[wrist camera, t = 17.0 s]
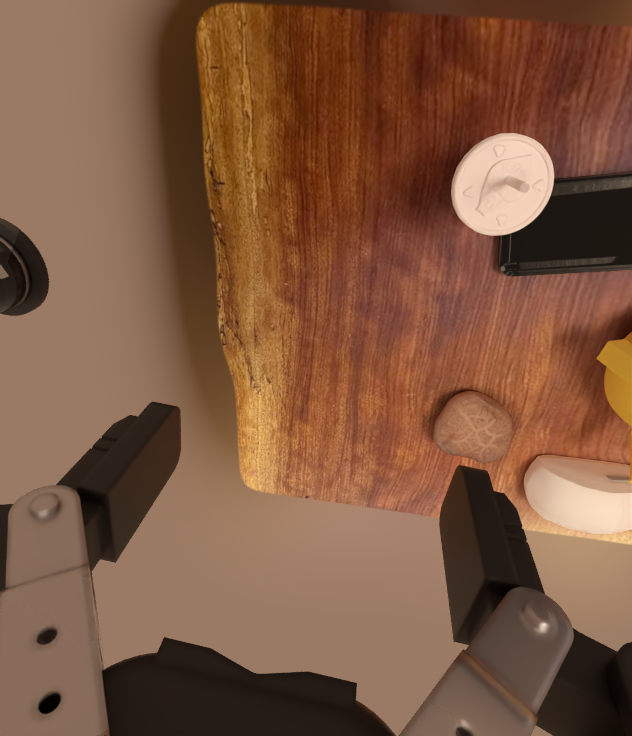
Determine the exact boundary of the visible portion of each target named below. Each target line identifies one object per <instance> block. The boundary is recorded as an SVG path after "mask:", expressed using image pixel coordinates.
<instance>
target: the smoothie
mask: <svg viewBox="0 0 632 736" xmlns="http://www.w3.org/2000/svg"><path fill="white" fill-rule="evenodd" d="M553 184H554V169H553V164H552V161H551V158H550V156H549V154H548V153H547V151H546V150H545V149H544V147H543V146H542V145H541V144H539V143H538V142H537V141H535V140H533V139H532V138H529V137H528V136H524V135H520V134H516V133H503V134H498V135H495V136H492V137H488V138H486V139H485V140H483V141H481V142H480V143H478V144H476V145H475V146H474V147H473V148H472V149H471V150H470V151H469V152H468V153H467V154H466V155H465V156H464V157H463V159H462V160H461V162H460V163H459V165H458V167H457V169H456V171H455V174H454V177H453V180H452V188H451V197H452V203H453V207H454V209H455V211H456V213H457V215H458V217H459V218H460V219H461V220H462V221H463V223H464V224H465V225H467V226H468V227H470V228H471V229H473V230H474V231H476V232H479V233H482V234H485V235H492V236H498V235H506V234H510V233H513V232H515V231H518V230H520V229H522V228H523V227H525V226H527V225H528V224H529V223H531V222H532V221H533V220H534V219H535V218H536V217H537V216H538V215H539V214H540V213H541V212H542V210H543V209H544V207H545V206H546V204H547V202H548V200H549V198H550V195H551V193H552V189H553Z"/></svg>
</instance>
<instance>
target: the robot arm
mask: <svg viewBox="0 0 632 736" xmlns="http://www.w3.org/2000/svg"><path fill="white" fill-rule="evenodd" d="M31 289H32V277H31V273H30V269H29V267H28V264H27V262H26V260H25V259H24V257H23V256H22V254H21V253H20V251H19V250H18V249H17V248H16V247H15V246H14V245H13V244H12V243H11V242H10V241H9V240H8V239H6V238H5V237H3V236H2V235H0V312H3V311H5V310H8V309H10V308H13V307H16V306H18V305H20V304H22V303H23V302H25V301H26V300H27V298H28V297H29V295H30V293H31ZM180 420H181V419H180V409H179V407H177V406H172V405H167V404H162V403H157V402H151V403H150V404H149V405H148V406H147V407H146V408H145V409H144V411H143V412H142V413H141V414H140V415H139V416H138V417H137V416H132V415H129V416H127V417H126V418H124V419H122V420H120V421H118V422H116V423H114V424H113V425H112V426H111V427H110V428H109V429H108V430H107V431H106V432H105V433H104V435H103V436H102V438H100V439H99V440H98V441H97V442H96V443H95V444H94V445H93V448H92V449H89V450H88V451H87V453H86V454H85V455H84V456H83V457H82V458H81V459H80V460H79V461H78V462H77V463H76V464H75V465H74V466H73V467H72V468H71V469H70V471H69V472H68V473H67V474H66V475H65V476H64V477H63V478H62V479H61V480H60V481H59V482H58V483H57V484H56V485H51V486H45V487H41V488H38V489H35V490H32V491H30V492H28V493H26V494H25V495H24V496H22V497H21V498H19V499H18V500H17V501H16V502H15V503H14V504H7V505H0V736H396V735H395V734H394V733H393V732H392V731H391V729H390V728H389V727H388V726H387V725H386V723H385V722H384V721H382V720H381V719H380V718H379V717H378V716H377V715H376V714H375V713H374V712H372V711H371V710H370V709H368V708H367V707H366V706H365V705H363V704H362V703H360V702H358V701H356V687H357V683H354V682H350V681H346V680H341V679H337V678H333V677H329V676H324V675H321V674H316V673H312V672H291V673H272V674H271V673H270V674H256V673H253V672H251V671H249V670H247V669H245V668H244V667H242V666H240V665H239V664H237V663H235V662H233V661H232V660H230V659H228V658H227V657H225V656H223V655H221V654H219V653H218V652H216V651H214V650H213V649H211V648H207V647H203V646H199V645H194V644H190V643H186V642H182V641H178V640H173V639H169V638H165V637H164V639H163V641H162V644H161V646H160V648H159V650H158V652H157V653H151V654H145V655H139V656H135V657H132V658H129V659H125V660H123V661H121V662H118V663H116V664H114V665H111V666H110V667H108V668H106V669H105V665H104V658H103V651H102V644H101V637H100V630H99V622H98V615H97V608H96V600H95V592H94V585H93V577H92V570H93V569H94V567H95V566H96V564H97V563H98V561H99V560H100V559H102V560H107V561H111V562H116V561H117V560H118V558H119V556H120V555H121V553H122V551H123V550H124V548H125V547H126V545H127V544H128V542H129V540H130V539H131V537H132V536H133V534H134V533H135V531H136V530H137V528H138V527H139V525H140V523H141V522H142V520H143V519H144V517H145V515H146V514H147V512H148V511H149V509H150V508H151V506H152V505H153V503H154V501H155V500H156V498H157V497H158V495H159V494H160V492H161V490H162V489H163V487H164V486H165V484H166V483H167V481H168V479H169V478H170V476H171V475H172V473H173V472H174V470H175V468H176V466H177V463H178V460H179V456H180V451H181V426H180V425H181V424H180V423H181V421H180ZM439 524H440V534H441V542H442V551H443V558H444V567H445V575H446V583H447V591H448V598H449V607H450V614H451V623H452V631H453V639H454V642H458V643H463V644H467V645H469V646H468V648H467V649H466V650H462V652H461V653H460V654H459V655H458V656H457V658H456V659H455V660H454V662H453V663H452V664H451V666H450V667H449V668H448V670H447V671H446V673H445V674H444V675H443V677H442V678H441V679H440V681H439V682H438V683H437V685H436V686H435V688H434V689H433V690H432V692H431V693H430V694H429V696H428V697H427V699H426V700H425V701H424V702H423V704H422V705H421V706H420V708H419V709H418V710H417V712H416V713H415V715H414V716H413V717H412V719H411V720H410V721H409V723H408V724H407V725H406V727H405V728H404V729H403V731H402V732H401V734H400V735H399V736H531V734H532V732H533V730H534V727H535V725H536V726H538V727H540V728H542V729H543V730H545V731H546V732H548V733H550V734H552V735H553V736H632V642H631V643H626V644H625V645H623V646H622V647H621V648H620V650H619V651H618V652H617V651H615V650H613V649H611V648H609V647H607V646H605V645H603V644H601V643H599V642H597V641H595V640H593V639H591V638H589V637H587V636H585V635H583V634H582V633H580V632H578V631H577V630H575V629H574V628H572V625H571V622H570V620H569V618H568V617H567V615H566V614H565V612H564V611H563V610H562V608H561V607H560V606H559V605H558V604H557V603H556V602H555V601H553V600H552V599H551V598H549V597H548V596H547V595H545V593H544V590H543V587H542V584H541V581H540V578H539V575H538V572H537V569H536V566H535V563H534V560H533V557H532V554H531V551H530V548H529V545H528V543H527V542H526V540H527V539H526V536H525V533H524V530H523V529H522V524H521V521H520V518H519V515H518V512H517V509H516V508H515V506H514V505H513V504H512V503H511V501H510V500H509V499H508V498H507V496H506V495H505V494H504V493H500V492H495V491H494V490H493V487H492V483H491V480H490V476H489V473H488V472H487V471H486V470H481V469H476V468H471V467H466V466H461V465H459V466H458V467H457V468H456V470H455V473H454V475H453V478H452V480H451V483H450V486H449V488H448V491H447V493H446V496H445V499H444V501H443V504H442V507H441V512H440V523H439Z"/></svg>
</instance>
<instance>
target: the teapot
mask: <svg viewBox="0 0 632 736" xmlns="http://www.w3.org/2000/svg"><path fill="white" fill-rule="evenodd" d="M596 359H597V360H599V361H600V362H601V363H602V364H604V365H605V366H606V371H605V376H604V388H605V394H606V397H607V400H608V402H609V404H610V406H611V407H612V408H613V410H614V411H615V412H616V413H617V414H618V416H619V417H620V418H621V419H623V420H624V421H625V422H626V423H627V424H629V425H630V426H631V453H630V483H631V484H632V332H631V333H630V334H629V335H627V336H626V337H625V338H624V339H622V340H614V341H608V342H607V344H606V345H605V347H604V348H603V350H602V351H601V353H600V354H599V355H598V357H597V358H596Z"/></svg>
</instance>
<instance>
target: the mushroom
mask: <svg viewBox="0 0 632 736" xmlns="http://www.w3.org/2000/svg"><path fill="white" fill-rule="evenodd" d="M511 435H512V421H511V418H510V415H509V413H508V412H507V410H506V409H505V408H504V407H503V406H502V405H501V404H499V403H498V402H496V401H495V400H494V399H491V398H490V397H488V396H486V395H484V394H482V393H479V392H475V391H465V392H462V393H459V394H457V395H455V396H454V397H452V398H451V399H450V400H449V401H448V402H447V404H446V405H445V406H444V408H443V410H442V412H441V414H440V415H439V416H438V417H437V419H436V421H435V424H434V431H433V436H434V437H433V438H434V440H435V441H434V442H435V443H436V444H435V445H437V446H438V448H439V449H440V450H441V451H443V452H444V453H447V454H450V455H455V456H462V457H466V458H470V459H472V460H476V461H477V462H481V463H490V462H493V461H496V460H498V459H499V458H500V457H501V456H503V454H504V453H505V451H506V449H507V445H508V443H509V440H510V439H511Z"/></svg>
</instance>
